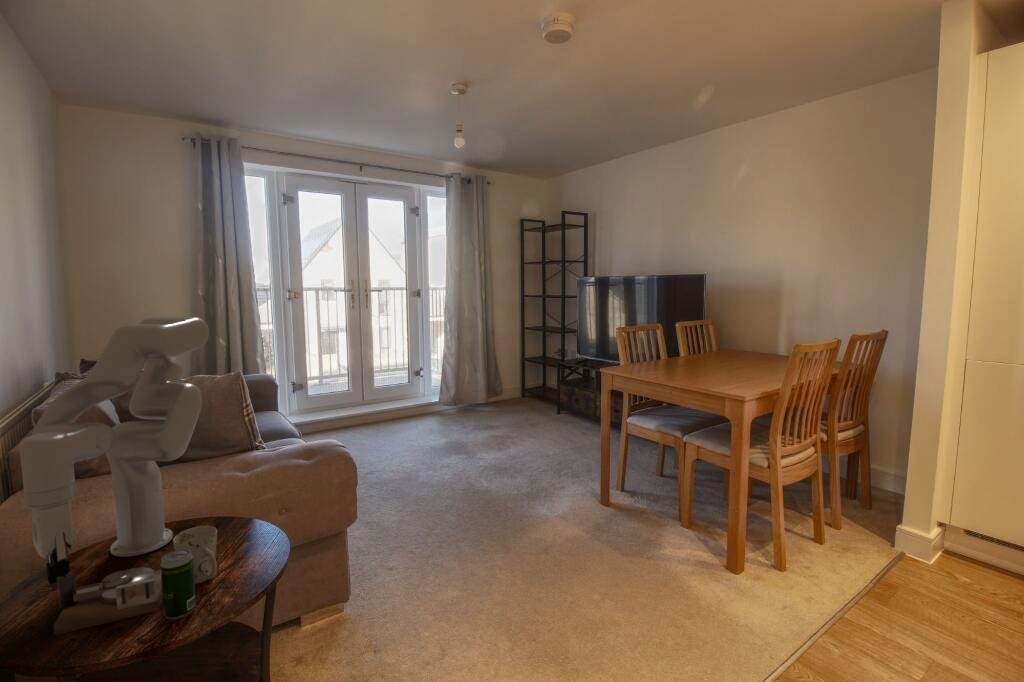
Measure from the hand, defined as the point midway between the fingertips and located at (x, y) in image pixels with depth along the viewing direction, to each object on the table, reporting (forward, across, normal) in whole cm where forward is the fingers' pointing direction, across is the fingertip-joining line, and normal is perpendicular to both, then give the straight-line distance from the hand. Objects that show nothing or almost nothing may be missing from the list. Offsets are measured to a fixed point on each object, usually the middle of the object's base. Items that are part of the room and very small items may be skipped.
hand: (59, 579), depth 101 cm
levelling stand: (+5, +9, +7) cm, 13 cm away
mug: (+5, +14, +21) cm, 26 cm away
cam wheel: (+3, +9, +6) cm, 11 cm away
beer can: (+5, +23, +14) cm, 27 cm away
